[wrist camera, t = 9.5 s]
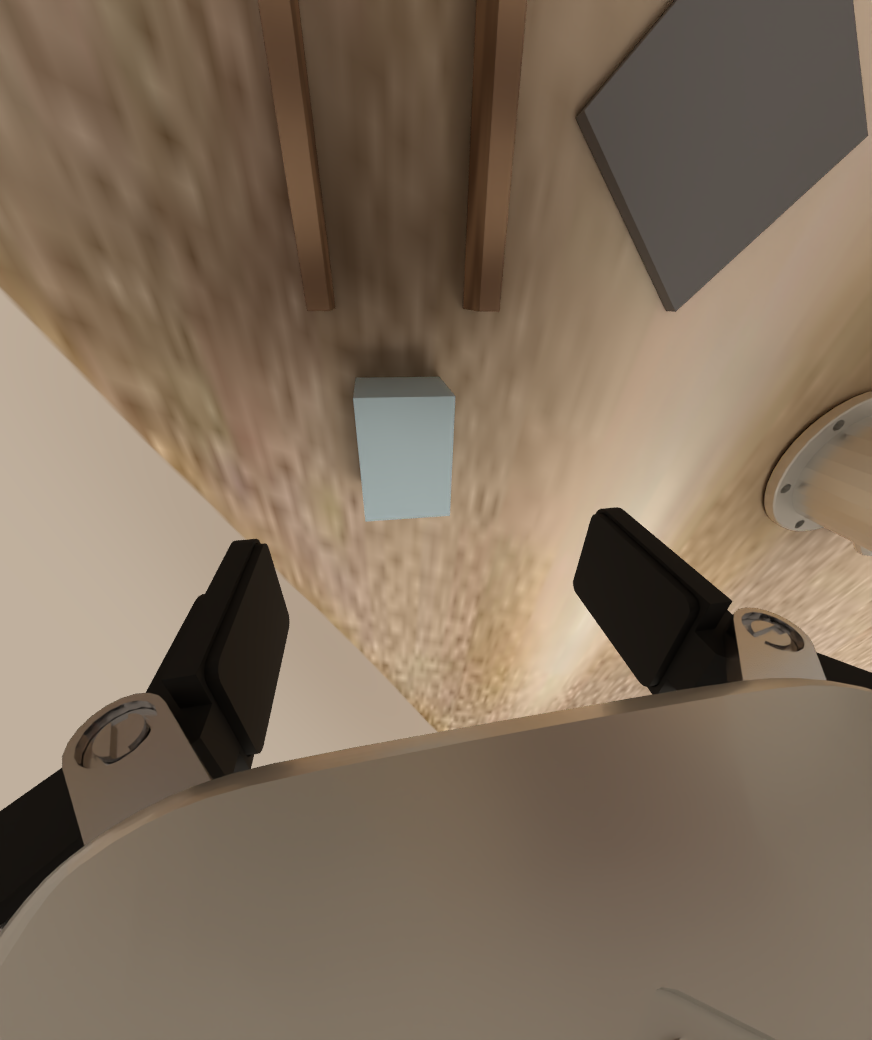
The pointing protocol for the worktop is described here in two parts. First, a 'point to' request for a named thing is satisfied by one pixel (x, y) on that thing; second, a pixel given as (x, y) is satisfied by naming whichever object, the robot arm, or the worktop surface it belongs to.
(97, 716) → the robot arm
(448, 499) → the block
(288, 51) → the shelf bay
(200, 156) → the worktop surface
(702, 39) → the mat
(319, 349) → the worktop surface
